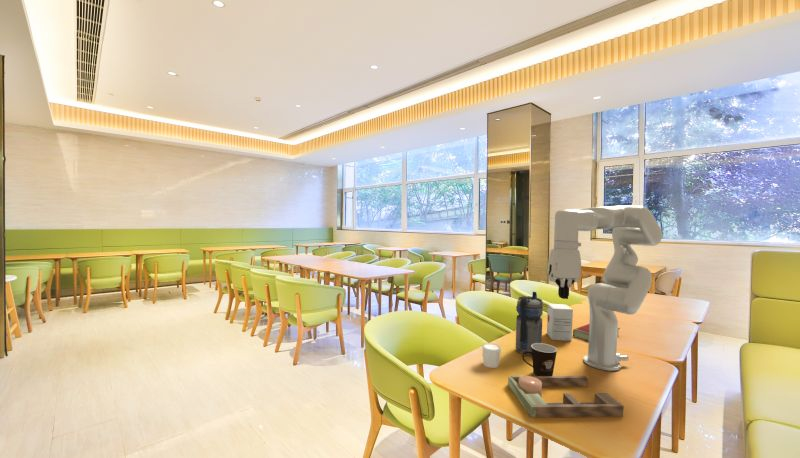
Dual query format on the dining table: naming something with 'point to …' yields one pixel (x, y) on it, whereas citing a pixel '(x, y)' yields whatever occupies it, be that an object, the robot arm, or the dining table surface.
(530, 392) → the pink rounded dome
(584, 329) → the hardcover book
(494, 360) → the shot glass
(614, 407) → the trap lane
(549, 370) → the coffee mug
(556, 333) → the supplement box
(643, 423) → the dining table surface
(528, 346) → the beverage bottle
